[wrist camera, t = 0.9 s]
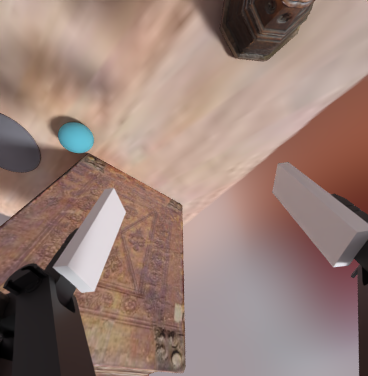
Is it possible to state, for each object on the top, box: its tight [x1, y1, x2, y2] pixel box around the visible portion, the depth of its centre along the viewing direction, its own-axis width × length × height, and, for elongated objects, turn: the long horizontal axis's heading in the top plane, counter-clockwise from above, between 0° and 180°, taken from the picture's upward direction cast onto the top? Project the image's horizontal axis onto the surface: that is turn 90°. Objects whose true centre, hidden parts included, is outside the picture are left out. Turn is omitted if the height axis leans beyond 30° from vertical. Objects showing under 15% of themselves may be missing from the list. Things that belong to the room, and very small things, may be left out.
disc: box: [0, 113, 40, 172], centre depth 33 cm, size 13×13×1 cm
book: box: [0, 154, 185, 376], centre depth 29 cm, size 25×9×30 cm, turn 53°
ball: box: [58, 122, 94, 153], centre depth 30 cm, size 6×6×6 cm
